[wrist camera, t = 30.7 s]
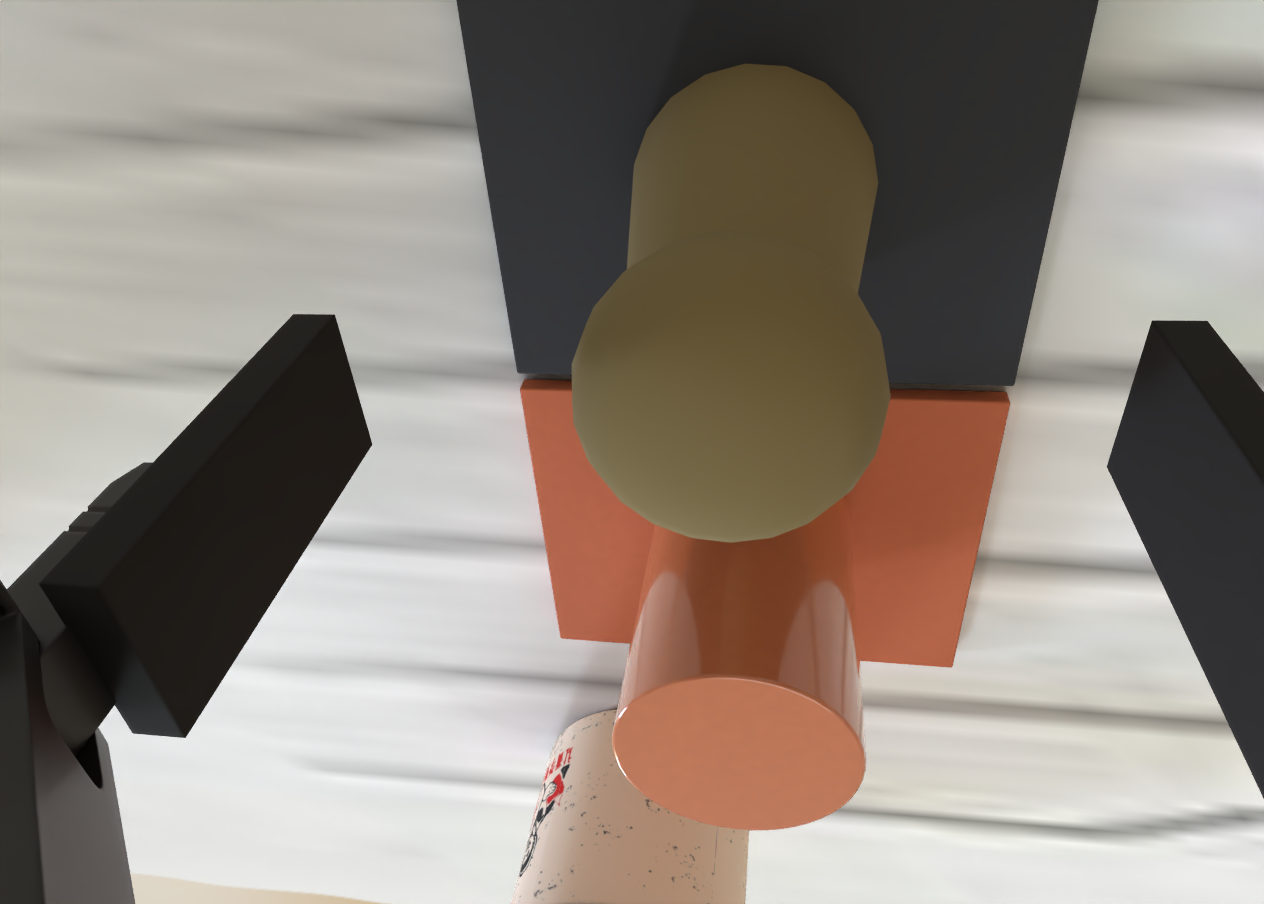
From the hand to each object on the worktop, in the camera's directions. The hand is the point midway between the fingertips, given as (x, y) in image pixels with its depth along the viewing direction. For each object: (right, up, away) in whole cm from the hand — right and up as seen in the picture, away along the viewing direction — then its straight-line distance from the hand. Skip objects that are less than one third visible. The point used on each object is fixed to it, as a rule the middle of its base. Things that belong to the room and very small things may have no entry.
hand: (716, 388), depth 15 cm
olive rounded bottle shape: (+2, +5, +7) cm, 9 cm away
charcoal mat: (+2, +6, +8) cm, 10 cm away
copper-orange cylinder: (+2, -3, +13) cm, 14 cm away
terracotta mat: (+3, -4, +14) cm, 15 cm away
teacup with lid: (0, -16, +24) cm, 29 cm away
